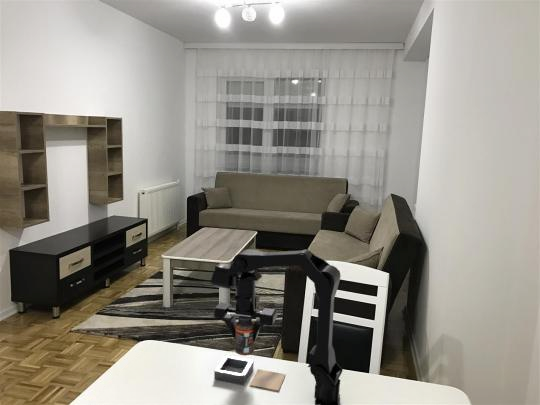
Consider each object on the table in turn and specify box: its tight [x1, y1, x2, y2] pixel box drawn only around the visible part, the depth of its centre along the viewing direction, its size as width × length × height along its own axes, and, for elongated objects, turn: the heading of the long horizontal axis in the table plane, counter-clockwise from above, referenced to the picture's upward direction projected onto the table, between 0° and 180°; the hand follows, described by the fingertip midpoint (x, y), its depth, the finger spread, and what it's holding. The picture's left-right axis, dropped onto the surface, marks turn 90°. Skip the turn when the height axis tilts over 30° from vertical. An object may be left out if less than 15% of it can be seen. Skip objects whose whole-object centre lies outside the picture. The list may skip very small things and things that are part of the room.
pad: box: [249, 369, 286, 392], centre depth 140 cm, size 9×9×1 cm
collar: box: [213, 354, 254, 386], centre depth 143 cm, size 10×10×3 cm
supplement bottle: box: [234, 316, 255, 356], centre depth 140 cm, size 6×6×11 cm
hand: (244, 339), depth 140 cm, fingers closed on supplement bottle, 6 cm apart
